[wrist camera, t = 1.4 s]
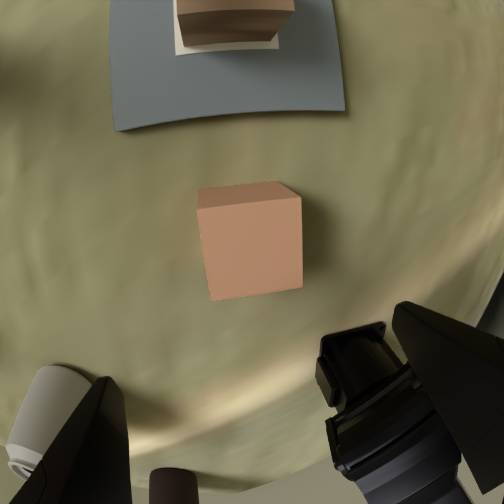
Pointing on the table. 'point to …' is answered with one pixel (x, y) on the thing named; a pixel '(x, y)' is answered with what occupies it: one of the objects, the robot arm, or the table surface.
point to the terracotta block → (251, 239)
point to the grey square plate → (219, 67)
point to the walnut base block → (231, 20)
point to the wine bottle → (173, 487)
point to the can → (43, 415)
